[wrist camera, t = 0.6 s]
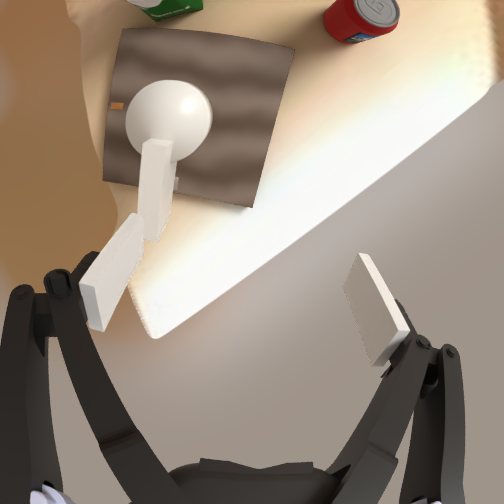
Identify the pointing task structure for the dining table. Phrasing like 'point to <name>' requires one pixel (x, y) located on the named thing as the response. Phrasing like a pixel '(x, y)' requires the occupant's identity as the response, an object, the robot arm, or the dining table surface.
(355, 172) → the dining table surface
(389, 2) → the beverage can
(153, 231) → the spoon
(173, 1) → the milk carton
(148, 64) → the base plate
